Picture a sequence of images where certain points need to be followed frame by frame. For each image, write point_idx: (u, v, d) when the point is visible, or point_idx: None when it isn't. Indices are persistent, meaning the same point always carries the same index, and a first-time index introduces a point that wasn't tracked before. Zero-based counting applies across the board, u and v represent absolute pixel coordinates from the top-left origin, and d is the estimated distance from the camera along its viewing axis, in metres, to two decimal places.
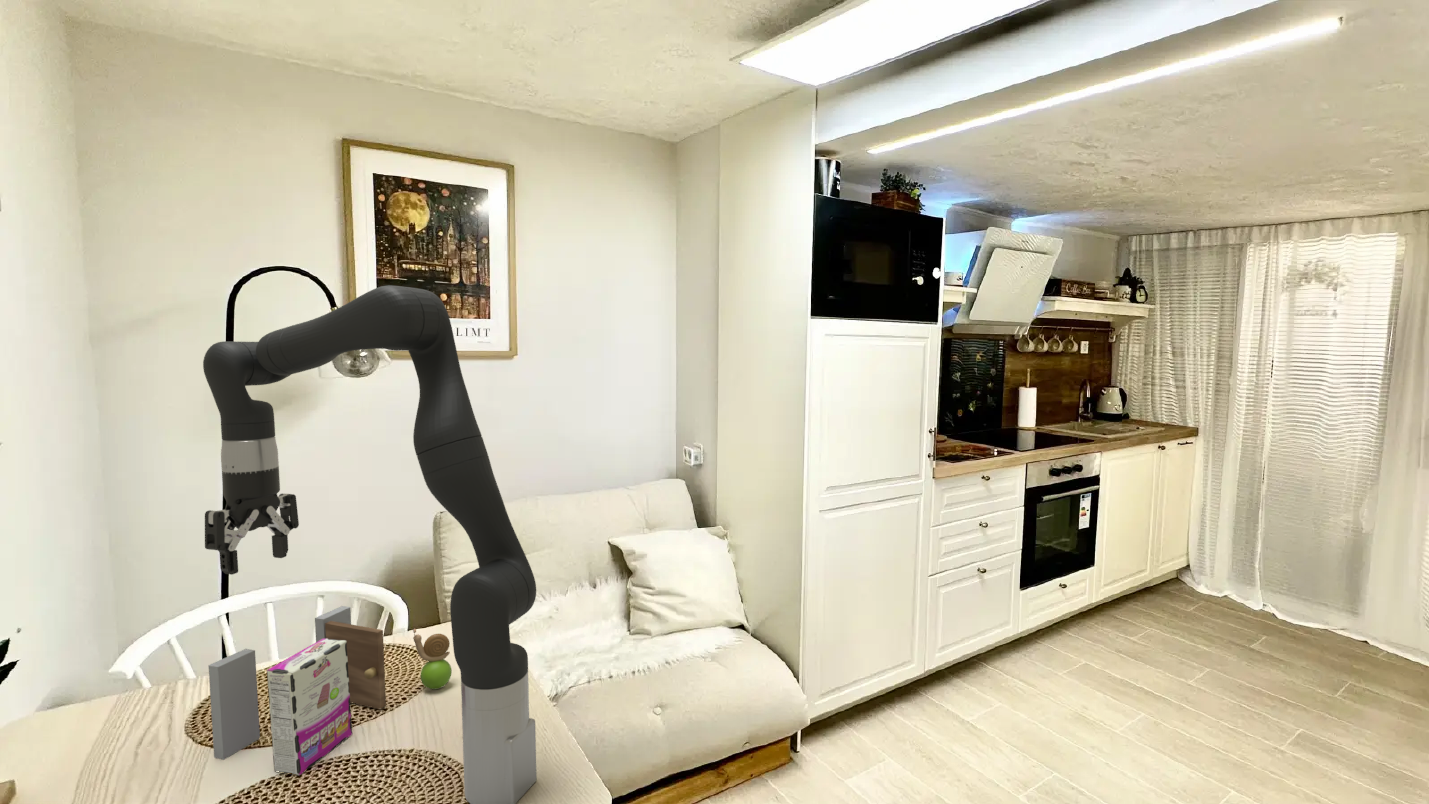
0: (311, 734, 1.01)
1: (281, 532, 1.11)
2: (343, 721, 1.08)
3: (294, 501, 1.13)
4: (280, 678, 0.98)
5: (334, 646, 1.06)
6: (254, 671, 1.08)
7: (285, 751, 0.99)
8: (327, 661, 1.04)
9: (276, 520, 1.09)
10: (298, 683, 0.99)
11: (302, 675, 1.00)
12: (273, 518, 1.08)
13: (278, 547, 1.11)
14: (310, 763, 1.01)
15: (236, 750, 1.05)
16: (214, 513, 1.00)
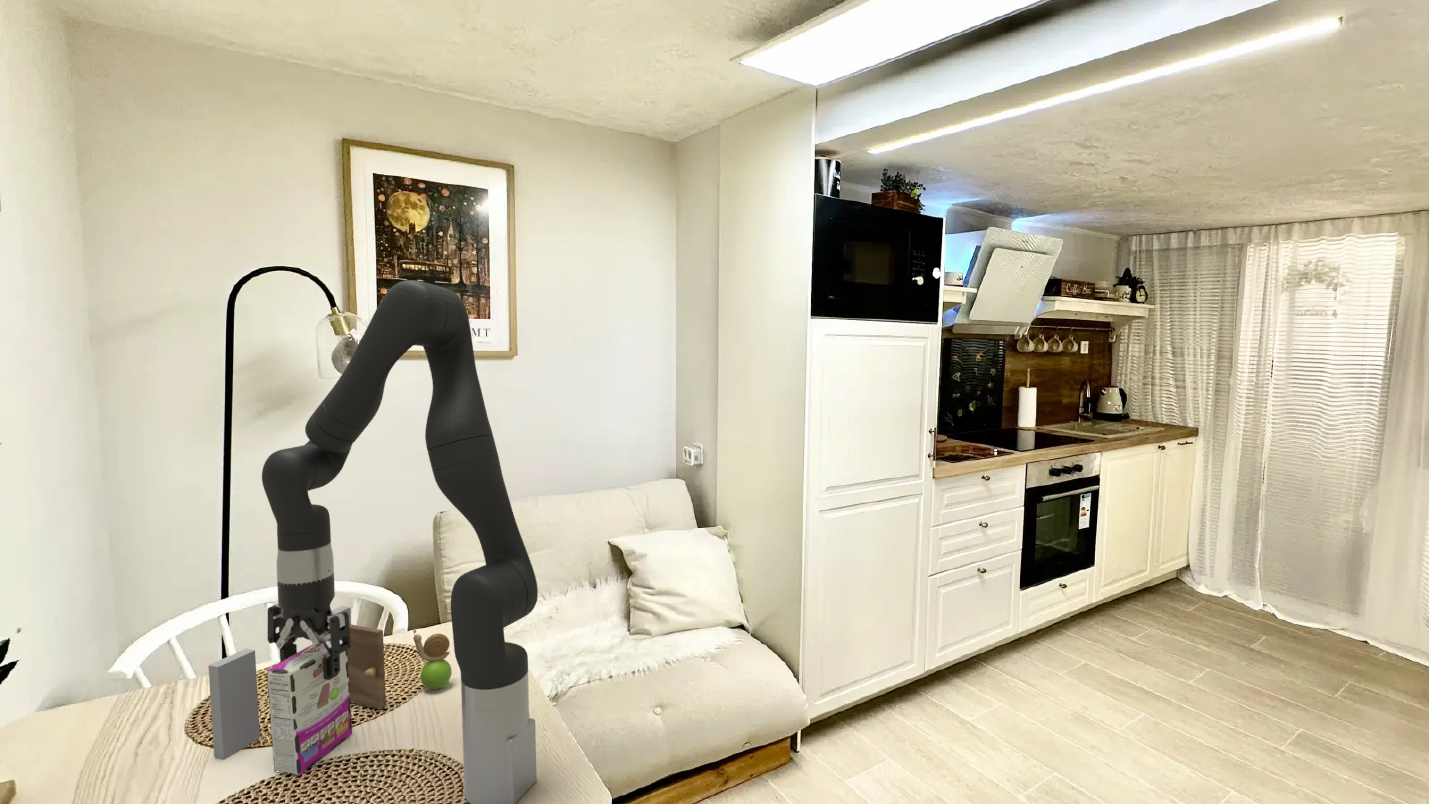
0: (311, 734, 1.01)
1: (294, 640, 1.06)
2: (343, 721, 1.08)
3: None
4: (280, 678, 0.98)
5: None
6: (254, 671, 1.08)
7: (285, 751, 0.99)
8: None
9: None
10: (297, 683, 0.99)
11: (302, 675, 1.00)
12: None
13: None
14: (310, 763, 1.01)
15: (236, 750, 1.05)
16: (343, 615, 1.02)
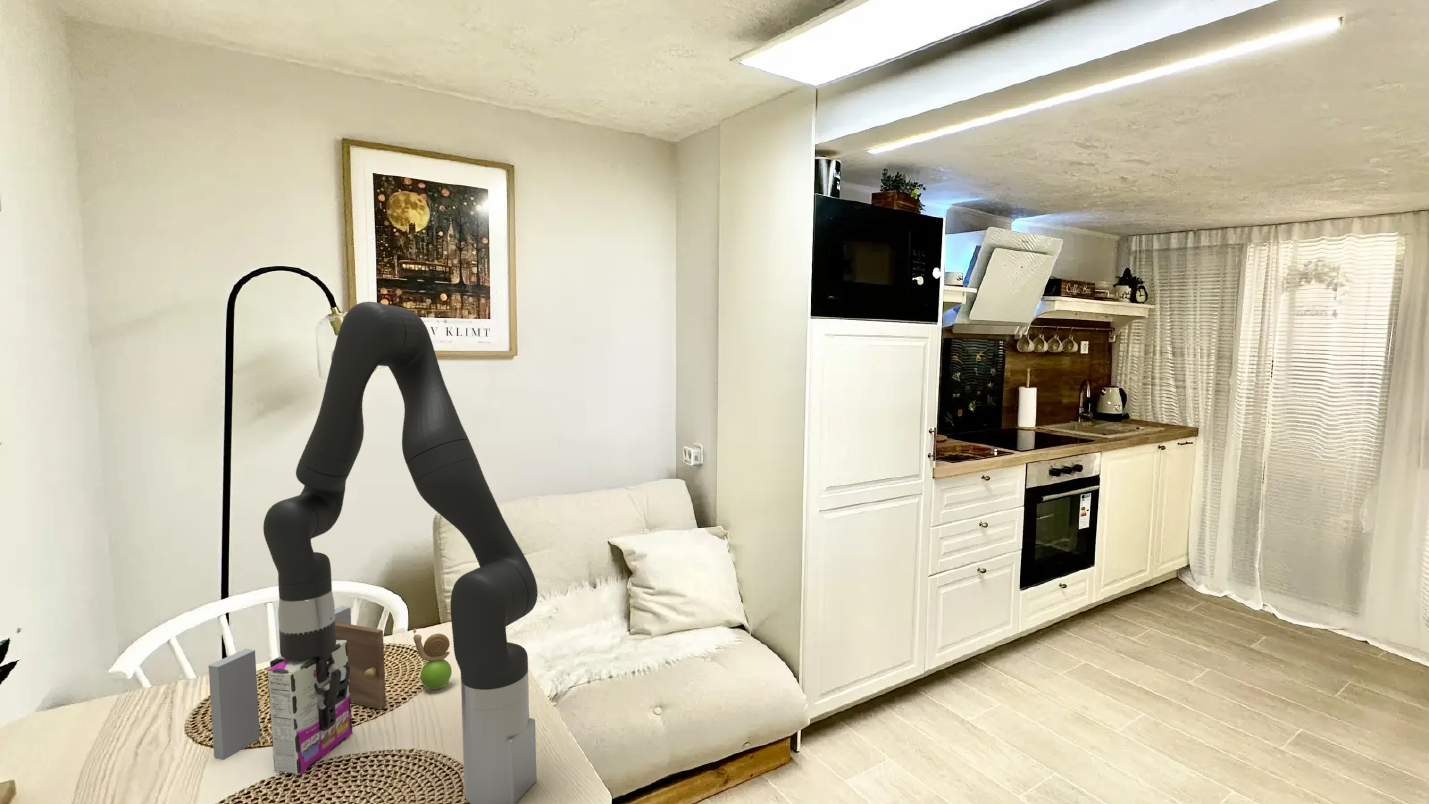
0: (311, 733, 1.01)
1: None
2: (343, 721, 1.08)
3: None
4: (280, 678, 0.98)
5: None
6: (254, 671, 1.08)
7: (285, 751, 0.99)
8: None
9: None
10: (298, 683, 0.99)
11: (302, 675, 1.00)
12: None
13: None
14: (311, 763, 1.01)
15: (236, 750, 1.05)
16: (345, 669, 1.03)
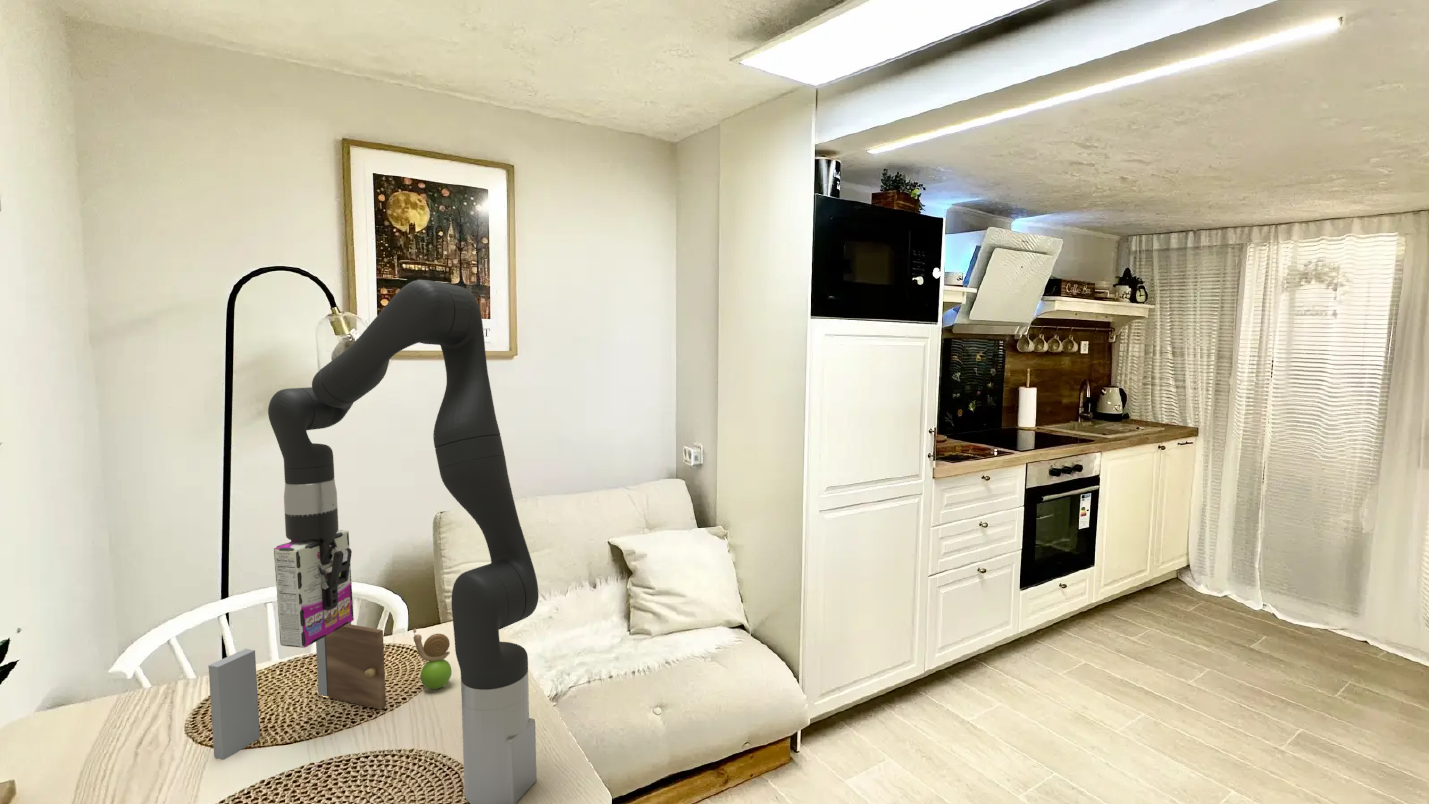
0: (315, 611, 1.08)
1: None
2: (345, 606, 1.14)
3: None
4: (286, 555, 1.05)
5: (337, 534, 1.13)
6: (254, 671, 1.08)
7: (290, 625, 1.06)
8: None
9: None
10: (303, 560, 1.05)
11: (307, 554, 1.06)
12: None
13: None
14: (314, 638, 1.08)
15: (236, 750, 1.05)
16: (347, 551, 1.09)
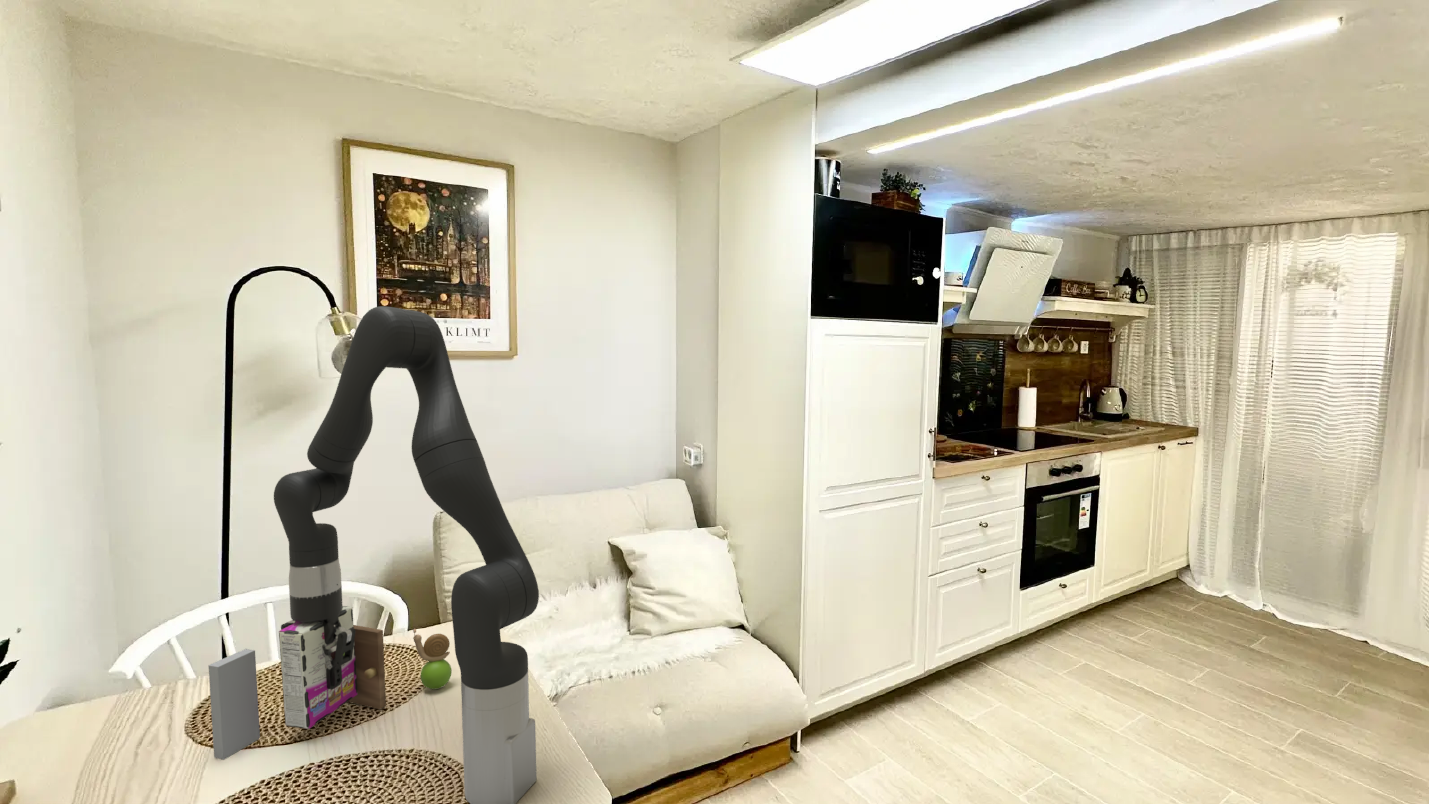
0: (320, 691, 1.09)
1: None
2: (349, 681, 1.16)
3: None
4: (291, 638, 1.06)
5: (341, 611, 1.14)
6: (254, 671, 1.08)
7: (295, 707, 1.07)
8: None
9: None
10: (307, 643, 1.07)
11: (311, 636, 1.07)
12: None
13: None
14: (319, 718, 1.09)
15: (236, 750, 1.05)
16: (351, 631, 1.10)
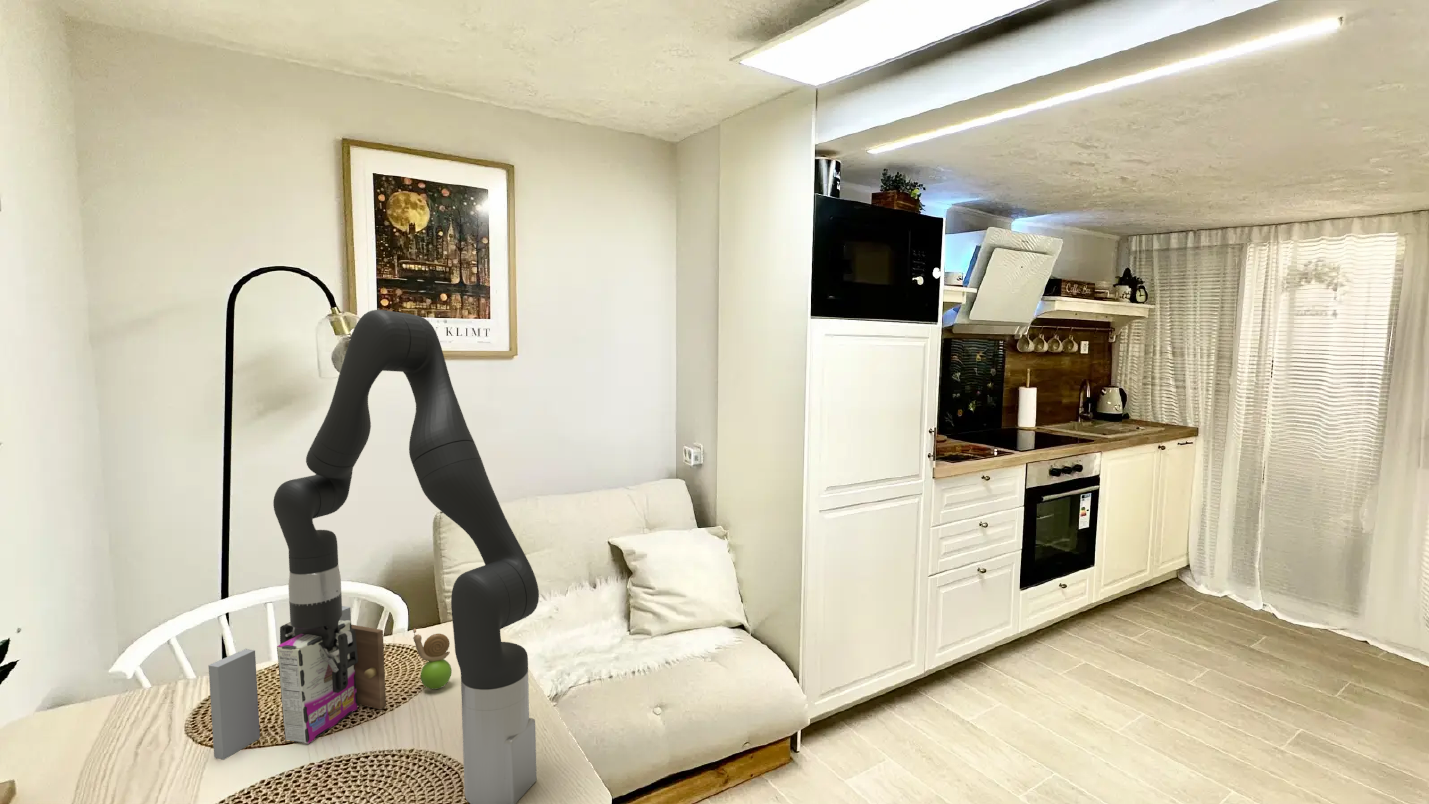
0: (319, 706, 1.09)
1: None
2: (349, 695, 1.16)
3: None
4: (289, 653, 1.06)
5: (339, 625, 1.14)
6: (254, 671, 1.08)
7: (294, 722, 1.07)
8: None
9: None
10: (305, 658, 1.07)
11: (309, 651, 1.08)
12: None
13: None
14: (318, 733, 1.09)
15: (236, 750, 1.05)
16: (350, 632, 1.10)
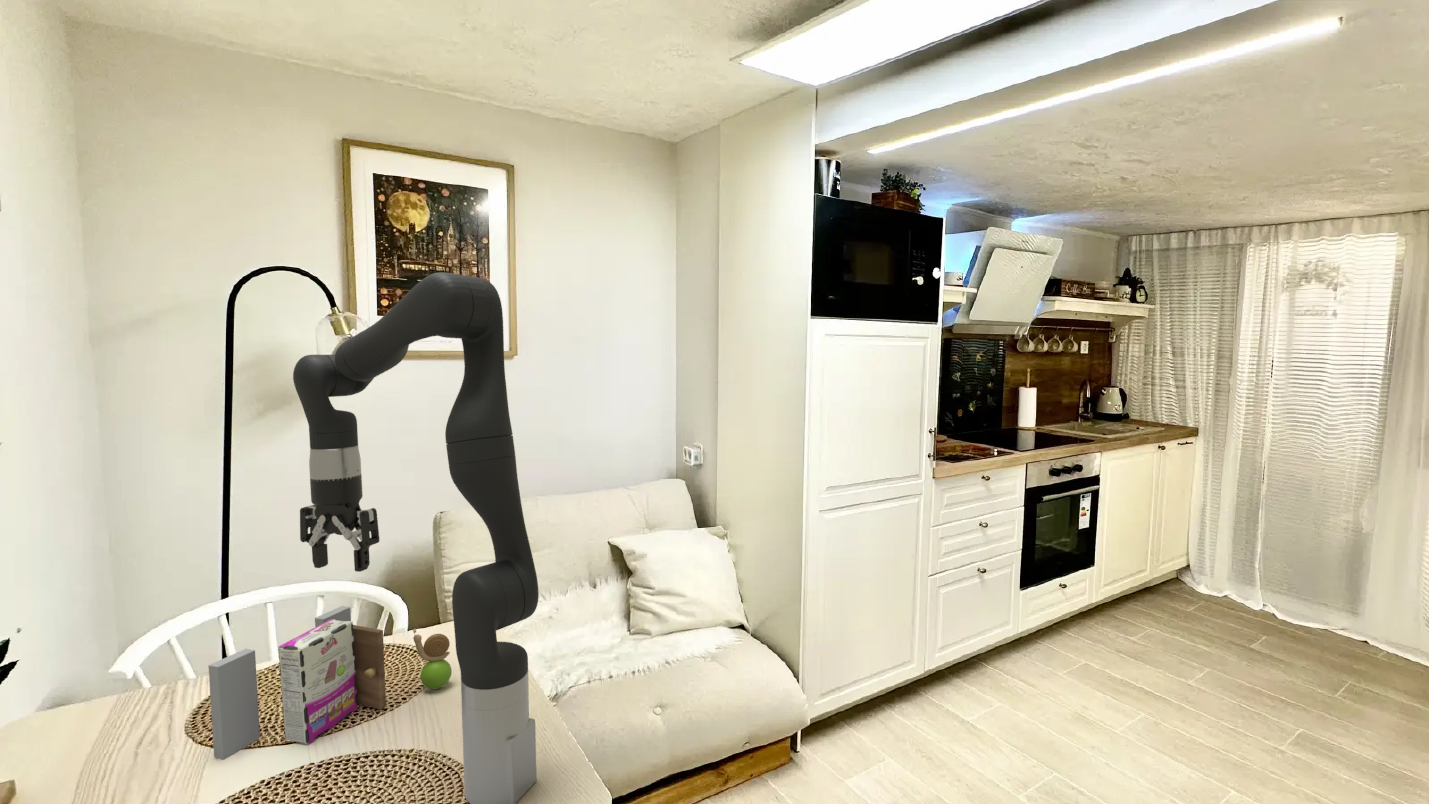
0: (319, 706, 1.09)
1: (325, 540, 1.14)
2: (349, 696, 1.16)
3: None
4: (290, 654, 1.06)
5: (341, 626, 1.14)
6: (254, 671, 1.08)
7: (295, 722, 1.07)
8: (334, 640, 1.12)
9: None
10: (306, 659, 1.07)
11: (310, 651, 1.07)
12: None
13: (323, 556, 1.13)
14: (318, 734, 1.09)
15: (236, 750, 1.05)
16: (372, 510, 1.10)
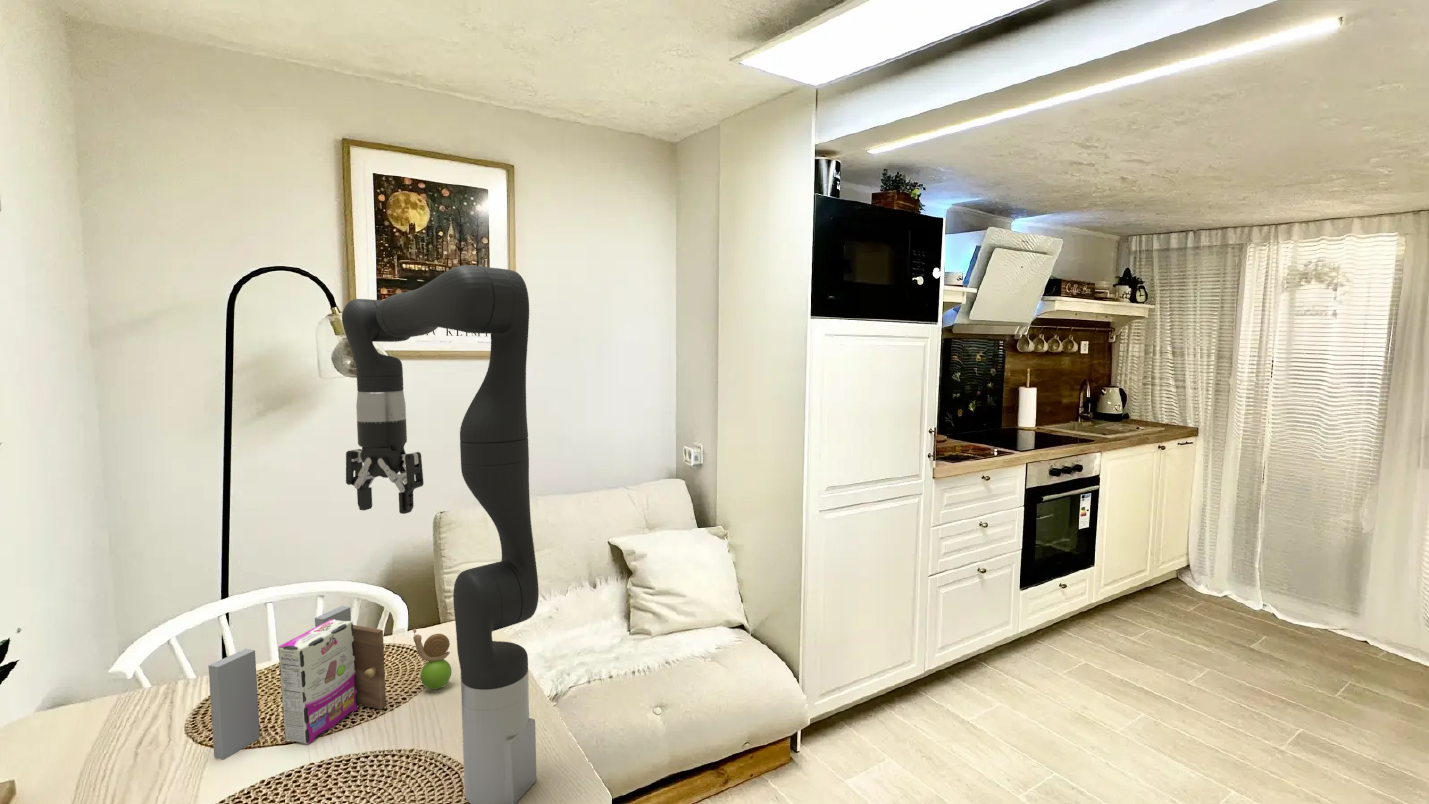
0: (319, 706, 1.09)
1: (369, 483, 1.16)
2: (349, 696, 1.16)
3: None
4: (290, 654, 1.06)
5: (341, 626, 1.14)
6: (254, 671, 1.08)
7: (295, 722, 1.07)
8: (334, 640, 1.12)
9: None
10: (306, 659, 1.07)
11: (310, 651, 1.07)
12: None
13: (368, 499, 1.15)
14: (318, 734, 1.09)
15: (236, 750, 1.05)
16: (416, 454, 1.12)
